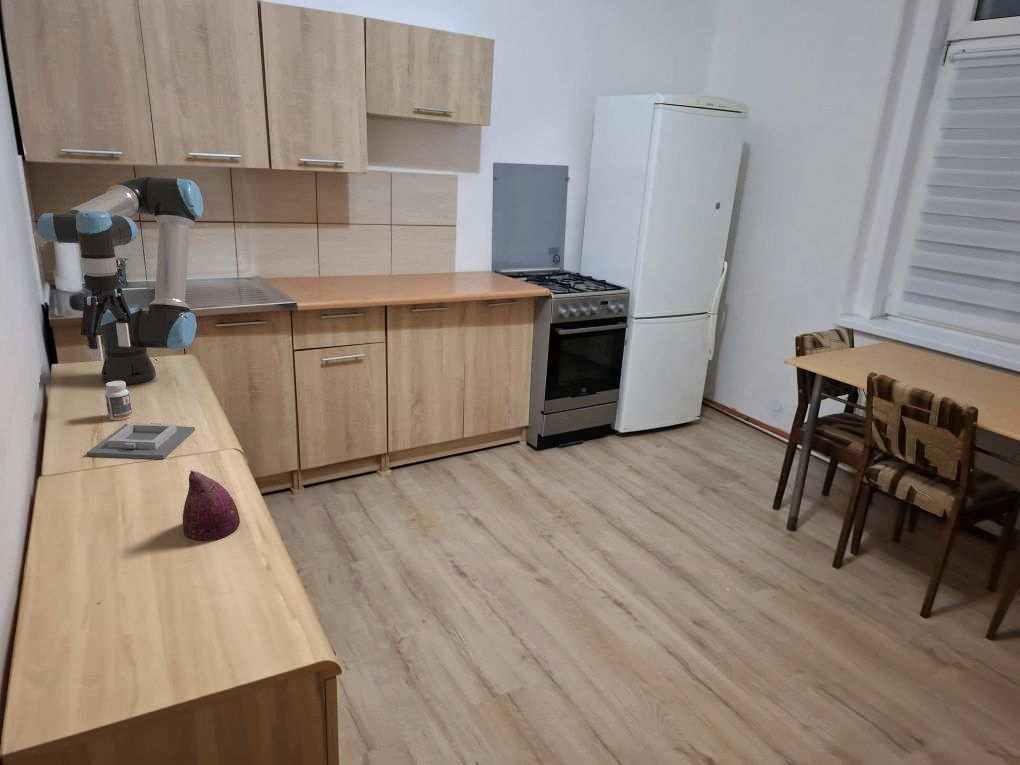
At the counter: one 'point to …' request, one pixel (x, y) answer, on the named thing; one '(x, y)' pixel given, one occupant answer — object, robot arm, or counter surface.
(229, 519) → the vegetable
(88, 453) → the socket
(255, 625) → the counter surface
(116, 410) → the pill bottle
